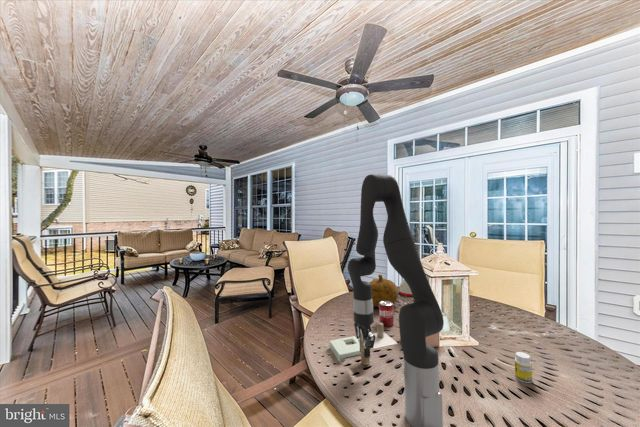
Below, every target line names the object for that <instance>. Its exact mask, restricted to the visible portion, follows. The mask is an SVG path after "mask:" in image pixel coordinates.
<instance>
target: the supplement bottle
mask: <svg viewBox="0 0 640 427" xmlns="http://www.w3.org/2000/svg"><path fill="white" fill-rule="evenodd" d="M514 377H515V379H517V380H518V381H519V382H522V383H525V384H531V383H532V382H533V363H532V362H531V356H530V355H529V354H528V353H525V352H522V351H517V352H515V358H514Z"/></svg>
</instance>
